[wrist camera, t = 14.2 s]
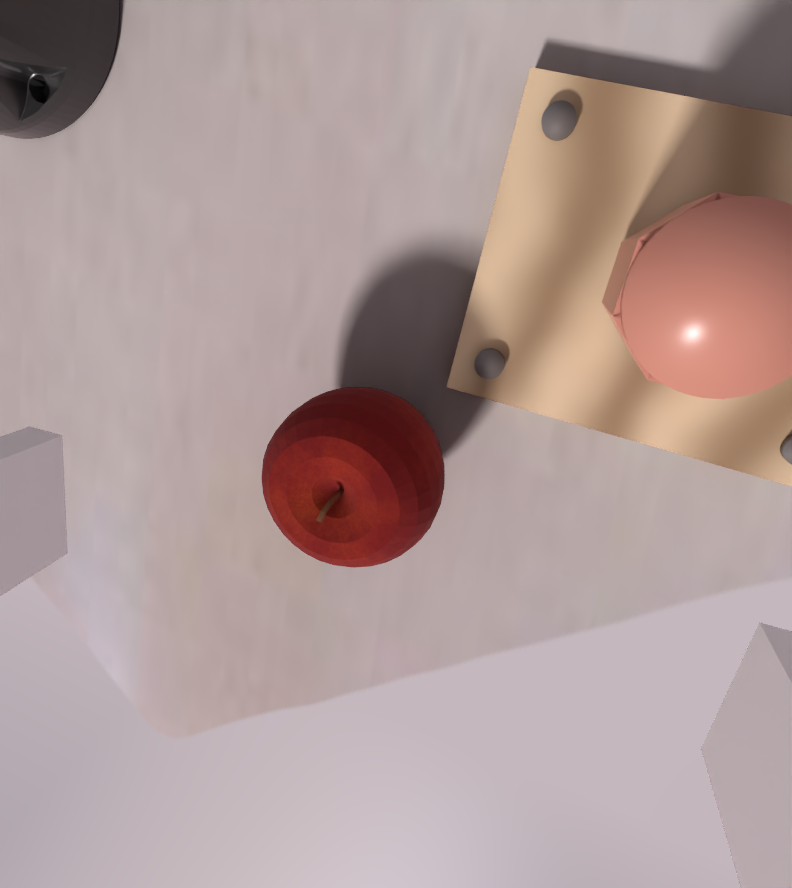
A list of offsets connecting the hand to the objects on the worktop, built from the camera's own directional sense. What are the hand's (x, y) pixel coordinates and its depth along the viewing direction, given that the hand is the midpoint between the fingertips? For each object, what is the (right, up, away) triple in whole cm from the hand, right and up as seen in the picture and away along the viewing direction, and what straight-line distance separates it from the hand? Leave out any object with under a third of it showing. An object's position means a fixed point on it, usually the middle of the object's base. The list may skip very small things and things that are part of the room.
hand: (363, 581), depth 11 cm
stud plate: (+15, +11, +19) cm, 27 cm away
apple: (0, +3, +27) cm, 27 cm away
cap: (+14, +10, +17) cm, 25 cm away
